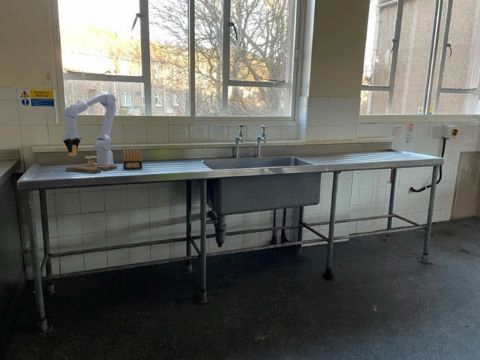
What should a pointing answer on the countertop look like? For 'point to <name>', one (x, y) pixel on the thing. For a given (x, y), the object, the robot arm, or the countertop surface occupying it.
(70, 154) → the block
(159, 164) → the countertop surface
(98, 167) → the notched board
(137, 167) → the ammunition clip
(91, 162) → the mushroom shaped handle
